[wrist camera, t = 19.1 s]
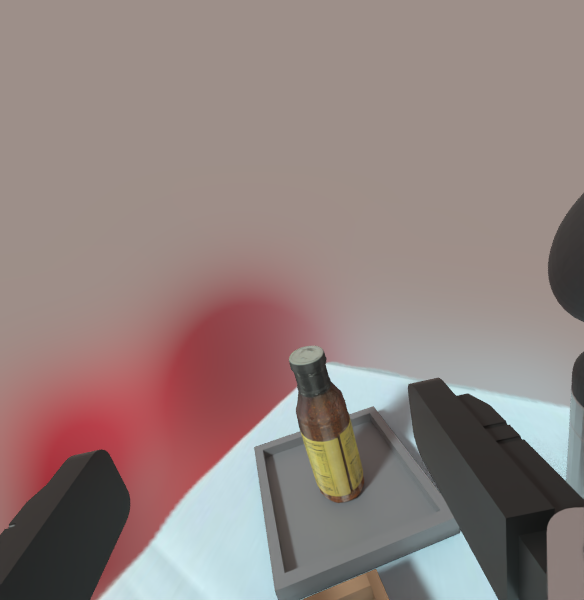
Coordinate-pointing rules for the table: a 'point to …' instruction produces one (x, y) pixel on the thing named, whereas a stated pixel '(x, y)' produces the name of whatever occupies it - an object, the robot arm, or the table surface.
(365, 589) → the condiment box
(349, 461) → the sauce bottle
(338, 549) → the serving tray
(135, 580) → the table surface
